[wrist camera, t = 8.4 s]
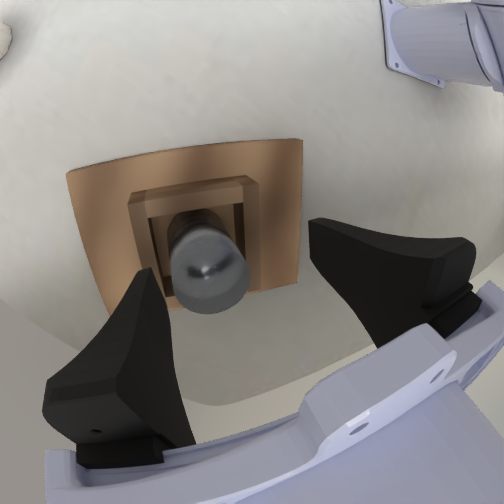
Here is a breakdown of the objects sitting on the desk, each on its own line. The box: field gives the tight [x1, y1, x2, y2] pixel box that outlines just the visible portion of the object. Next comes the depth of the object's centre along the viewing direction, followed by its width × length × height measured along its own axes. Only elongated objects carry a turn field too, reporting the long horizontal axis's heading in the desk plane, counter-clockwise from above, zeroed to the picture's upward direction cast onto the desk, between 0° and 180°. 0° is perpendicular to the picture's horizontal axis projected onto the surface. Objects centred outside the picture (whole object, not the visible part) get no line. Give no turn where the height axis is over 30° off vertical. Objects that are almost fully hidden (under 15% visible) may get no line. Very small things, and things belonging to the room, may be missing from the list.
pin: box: [167, 208, 251, 314], centre depth 16 cm, size 4×4×6 cm
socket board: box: [66, 139, 303, 316], centre depth 18 cm, size 16×12×4 cm
